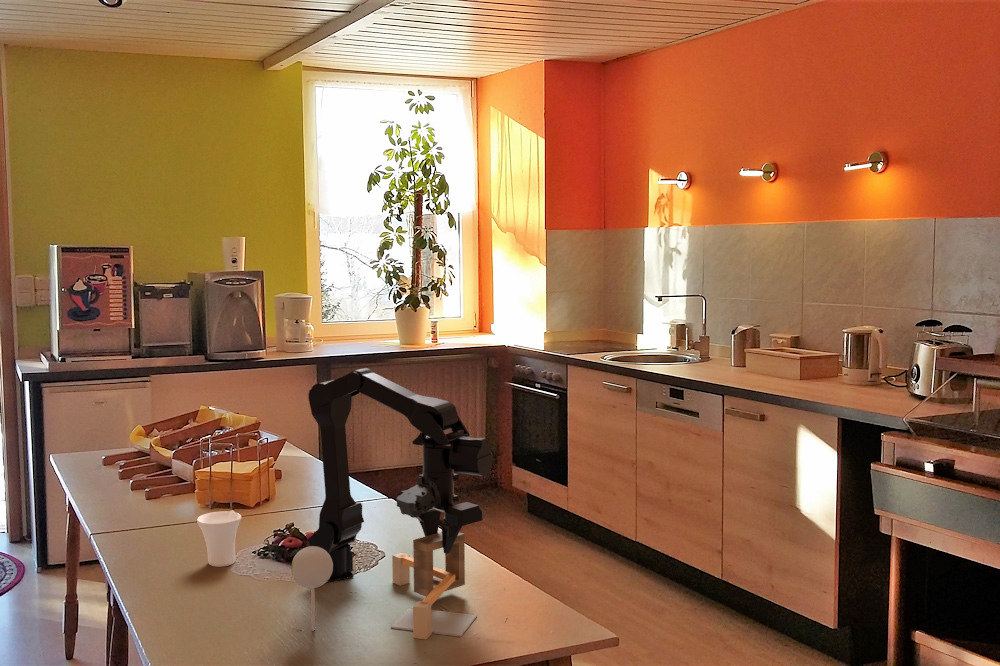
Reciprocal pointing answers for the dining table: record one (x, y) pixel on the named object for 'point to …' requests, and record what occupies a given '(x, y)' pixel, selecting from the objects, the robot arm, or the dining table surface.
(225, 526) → the cup
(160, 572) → the dining table surface
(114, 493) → the dining table surface
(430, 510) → the robot arm
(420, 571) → the brown rectangular frame
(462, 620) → the mat
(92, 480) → the dining table surface
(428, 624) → the rail
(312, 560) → the lollipop
